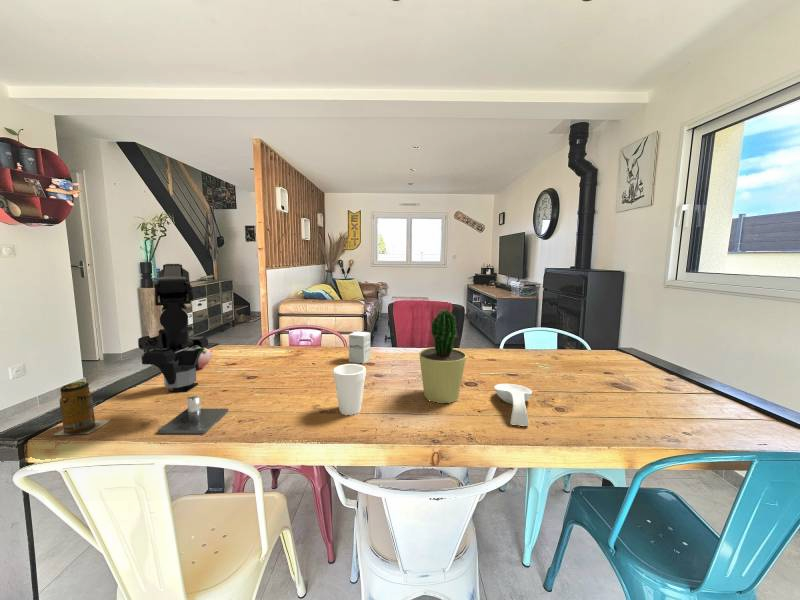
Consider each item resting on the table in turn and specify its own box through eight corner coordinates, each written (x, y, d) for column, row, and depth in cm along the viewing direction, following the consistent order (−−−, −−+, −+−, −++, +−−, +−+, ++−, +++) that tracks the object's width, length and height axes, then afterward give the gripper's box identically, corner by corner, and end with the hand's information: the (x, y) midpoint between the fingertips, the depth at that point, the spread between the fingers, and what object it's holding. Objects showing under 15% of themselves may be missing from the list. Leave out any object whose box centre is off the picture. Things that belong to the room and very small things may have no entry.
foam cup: (332, 405, 100) (331, 365, 98) (361, 401, 103) (361, 362, 102) (337, 420, 91) (336, 376, 90) (369, 415, 95) (369, 372, 93)
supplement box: (348, 362, 141) (348, 334, 139) (356, 357, 148) (355, 330, 146) (363, 364, 138) (363, 335, 137) (370, 359, 145) (370, 332, 143)
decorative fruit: (180, 371, 128) (178, 346, 127) (199, 364, 136) (197, 341, 135) (199, 373, 126) (197, 348, 124) (216, 366, 133) (215, 343, 132)
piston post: (187, 411, 96) (185, 389, 95) (228, 411, 96) (226, 389, 95) (158, 433, 84) (155, 408, 83) (204, 433, 84) (202, 408, 83)
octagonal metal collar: (176, 378, 93) (175, 365, 93) (200, 378, 93) (199, 365, 93) (158, 387, 86) (157, 373, 86) (184, 387, 86) (183, 373, 86)
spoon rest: (492, 391, 113) (493, 371, 112) (527, 394, 111) (529, 374, 110) (498, 425, 90) (499, 401, 89) (543, 430, 88) (545, 405, 87)
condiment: (77, 421, 89) (72, 380, 88) (110, 420, 90) (106, 379, 89) (52, 436, 82) (46, 391, 81) (88, 434, 83) (82, 390, 81)
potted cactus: (430, 383, 118) (432, 303, 114) (470, 393, 110) (474, 307, 106) (409, 399, 105) (411, 308, 101) (454, 411, 97) (457, 313, 93)
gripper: (170, 318, 97) (175, 368, 99) (116, 331, 79) (123, 392, 81) (207, 318, 97) (211, 368, 99) (161, 331, 79) (167, 392, 81)
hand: (180, 379), depth 90 cm, fingers closed on octagonal metal collar, 7 cm apart
